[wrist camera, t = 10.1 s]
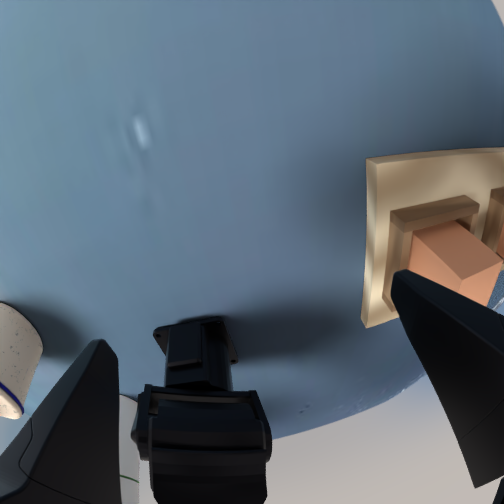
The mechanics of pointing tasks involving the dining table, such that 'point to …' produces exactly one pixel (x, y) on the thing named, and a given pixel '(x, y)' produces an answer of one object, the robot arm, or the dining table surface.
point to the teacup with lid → (16, 360)
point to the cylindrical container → (128, 453)
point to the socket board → (426, 211)
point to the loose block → (455, 260)
